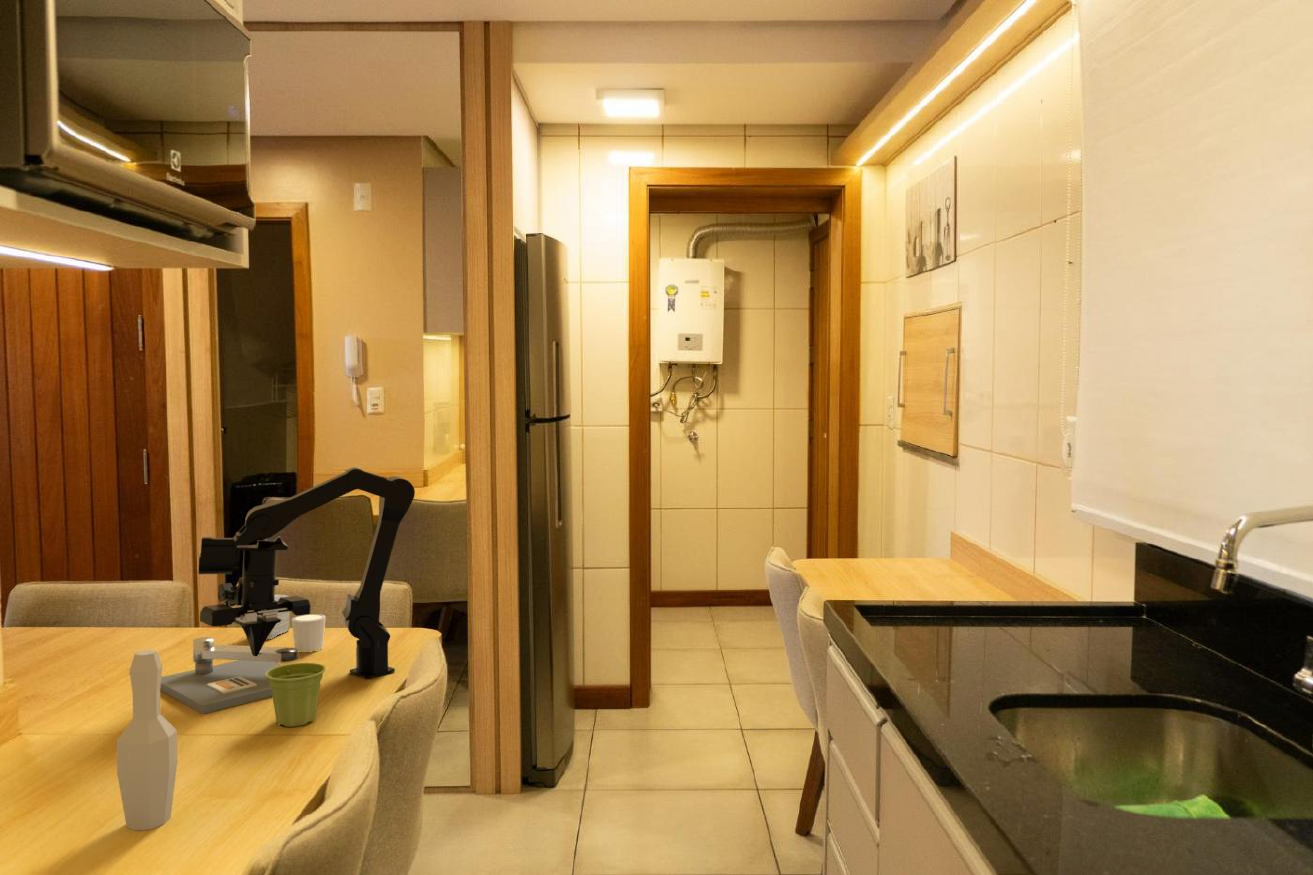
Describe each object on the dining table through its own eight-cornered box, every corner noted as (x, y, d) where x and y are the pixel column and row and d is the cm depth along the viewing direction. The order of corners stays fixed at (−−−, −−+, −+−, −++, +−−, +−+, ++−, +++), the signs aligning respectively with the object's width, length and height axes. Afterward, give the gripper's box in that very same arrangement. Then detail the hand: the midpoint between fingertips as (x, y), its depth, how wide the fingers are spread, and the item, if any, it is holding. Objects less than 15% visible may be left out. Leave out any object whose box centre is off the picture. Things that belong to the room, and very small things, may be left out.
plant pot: (266, 715, 151) (266, 665, 151) (325, 708, 155) (324, 659, 154) (264, 734, 143) (263, 681, 142) (326, 726, 146) (326, 675, 146)
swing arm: (188, 662, 168) (188, 641, 168) (201, 656, 172) (201, 636, 172) (291, 667, 166) (291, 646, 165) (302, 661, 169) (302, 640, 169)
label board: (312, 685, 167) (312, 667, 167) (203, 714, 152) (202, 694, 151) (258, 663, 181) (258, 646, 181) (153, 686, 166) (153, 668, 166)
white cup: (318, 653, 188) (318, 621, 188) (286, 653, 188) (286, 621, 188) (330, 644, 195) (330, 613, 194) (300, 644, 195) (299, 613, 195)
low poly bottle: (107, 831, 110) (104, 657, 109) (146, 808, 117) (143, 644, 116) (151, 836, 109) (148, 661, 108) (188, 813, 115) (185, 647, 114)
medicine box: (272, 630, 207) (272, 594, 206) (290, 631, 206) (290, 594, 206) (252, 639, 199) (252, 601, 198) (271, 640, 198) (270, 602, 198)
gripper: (286, 563, 178) (282, 640, 178) (189, 571, 164) (184, 654, 164) (314, 571, 171) (310, 651, 171) (215, 580, 156) (211, 668, 156)
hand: (255, 655), depth 166 cm, fingers closed
